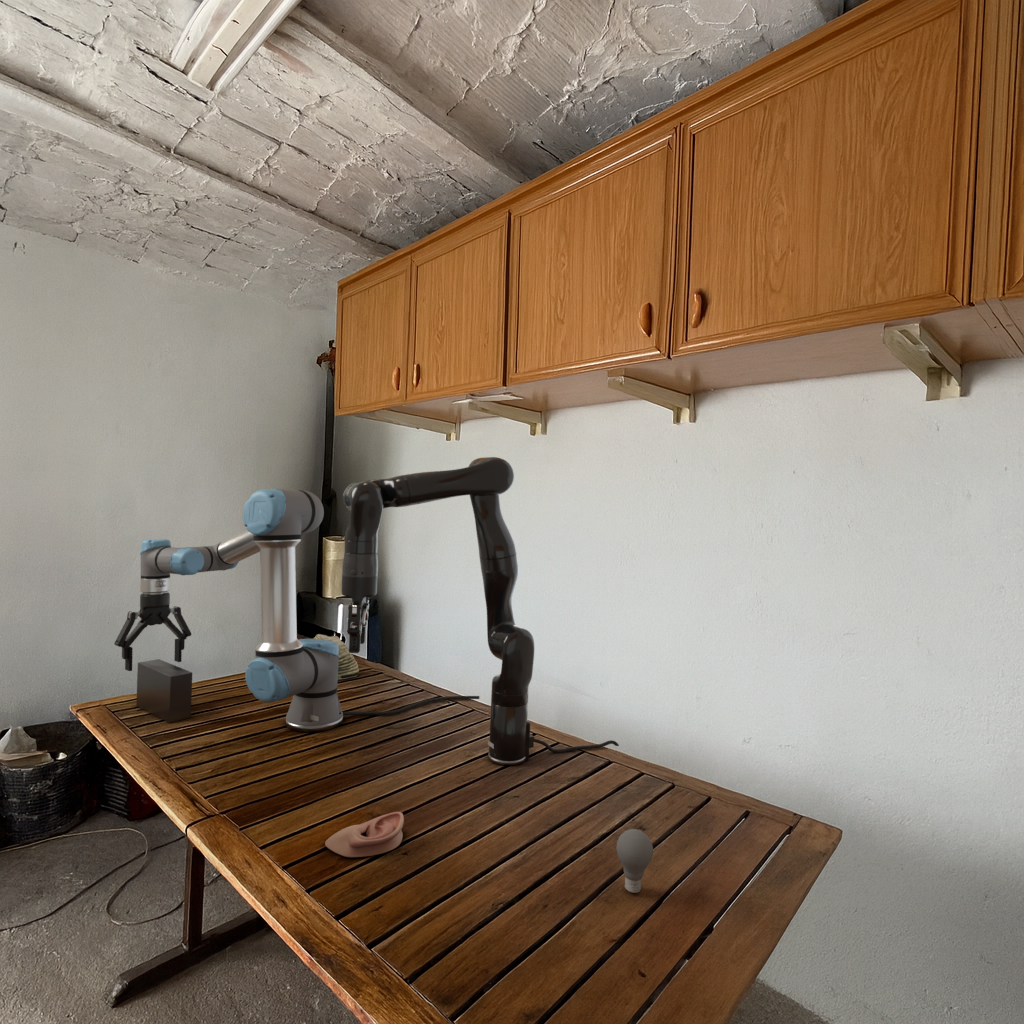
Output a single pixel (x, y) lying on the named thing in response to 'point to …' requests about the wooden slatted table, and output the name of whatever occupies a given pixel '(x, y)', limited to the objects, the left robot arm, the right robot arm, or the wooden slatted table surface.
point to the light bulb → (634, 857)
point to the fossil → (343, 658)
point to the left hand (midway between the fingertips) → (154, 665)
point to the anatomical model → (368, 837)
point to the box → (164, 690)
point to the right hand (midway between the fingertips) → (357, 647)
